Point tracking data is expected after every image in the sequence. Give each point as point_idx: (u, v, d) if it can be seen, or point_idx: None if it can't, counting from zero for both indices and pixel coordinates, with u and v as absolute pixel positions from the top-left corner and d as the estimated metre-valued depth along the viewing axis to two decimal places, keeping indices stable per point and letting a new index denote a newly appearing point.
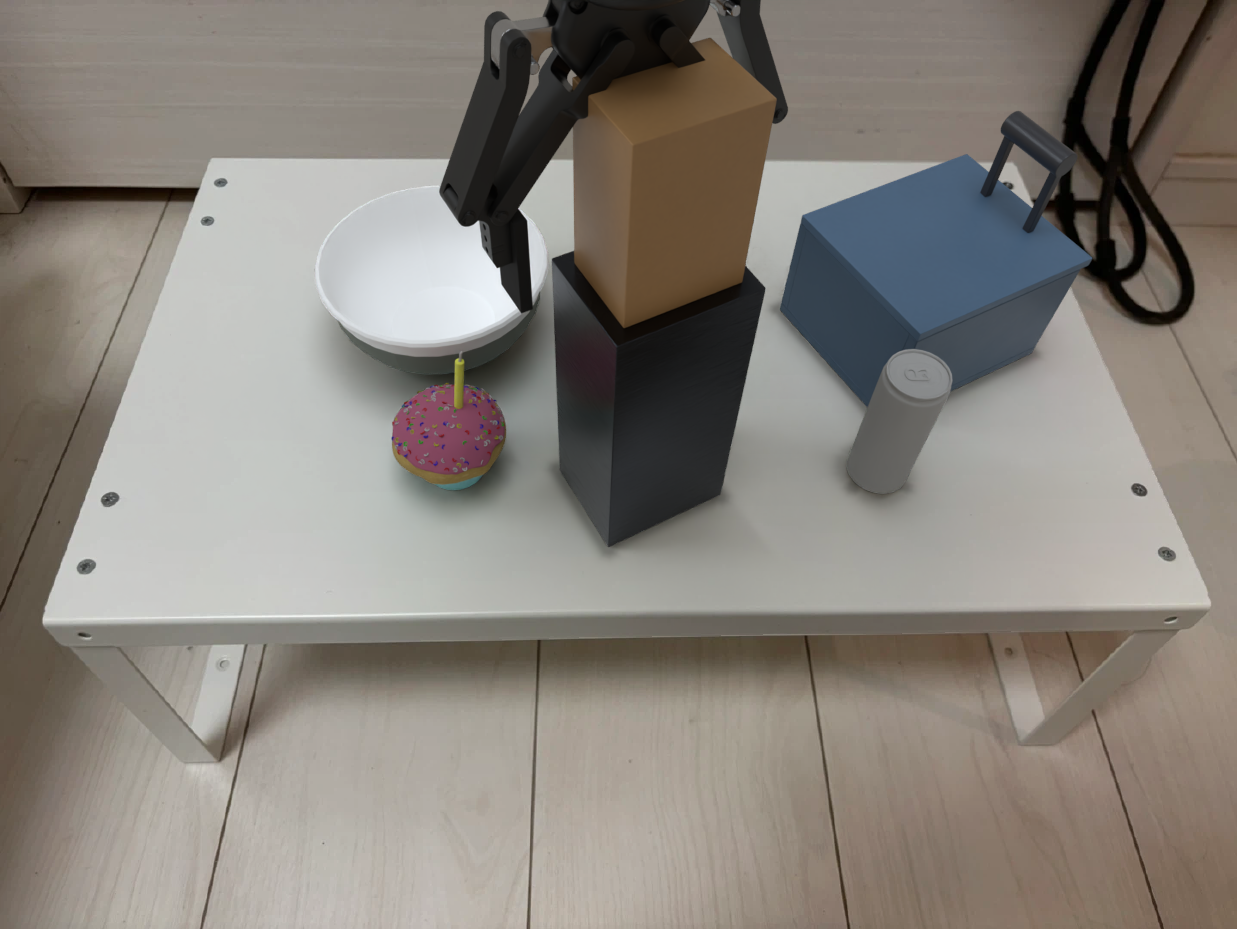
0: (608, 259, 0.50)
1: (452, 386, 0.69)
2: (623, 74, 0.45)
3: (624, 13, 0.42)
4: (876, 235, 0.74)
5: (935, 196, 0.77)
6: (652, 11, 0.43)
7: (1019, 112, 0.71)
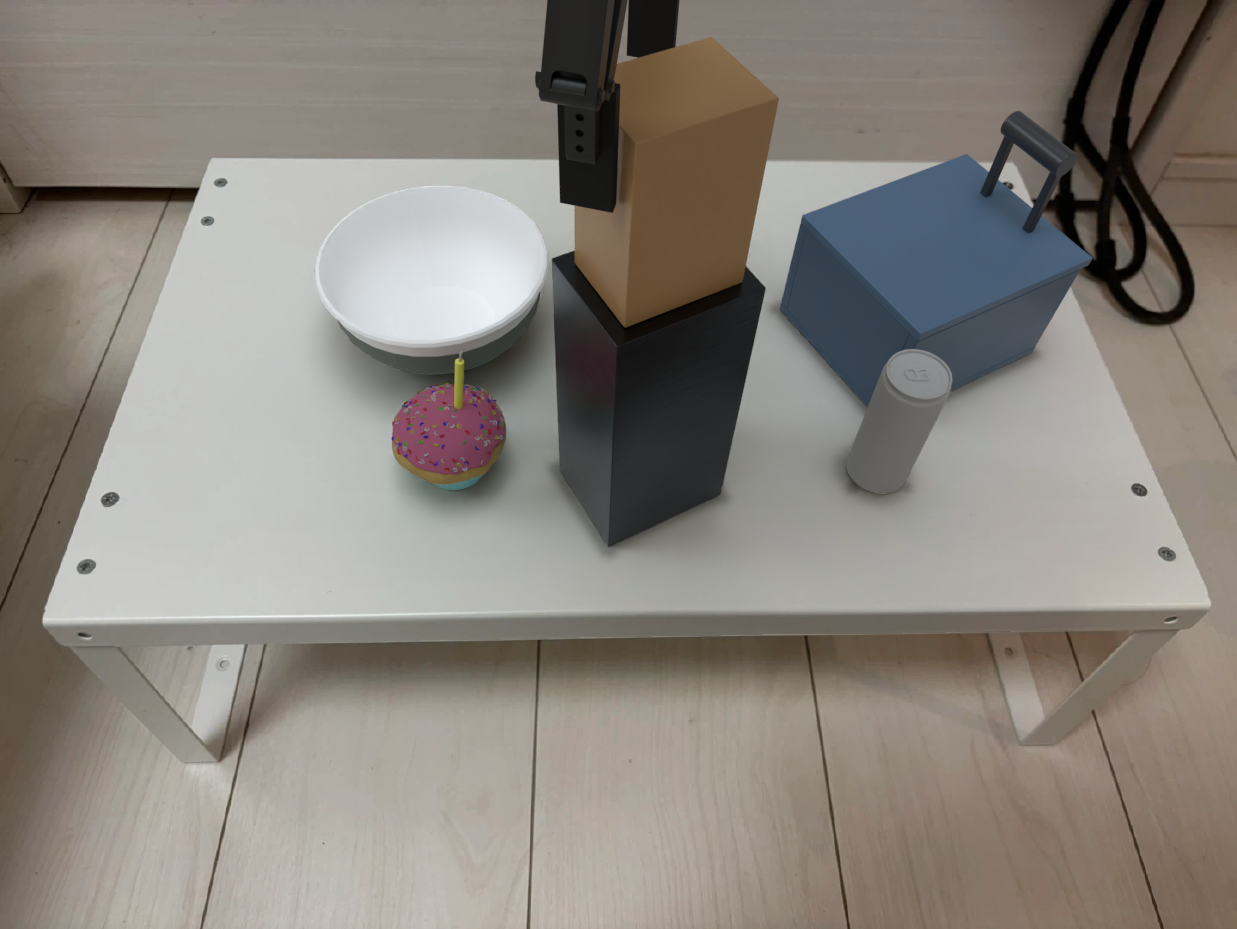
0: (610, 258, 0.50)
1: (452, 386, 0.69)
2: None
3: None
4: (876, 235, 0.74)
5: (935, 196, 0.77)
6: None
7: (1019, 112, 0.71)
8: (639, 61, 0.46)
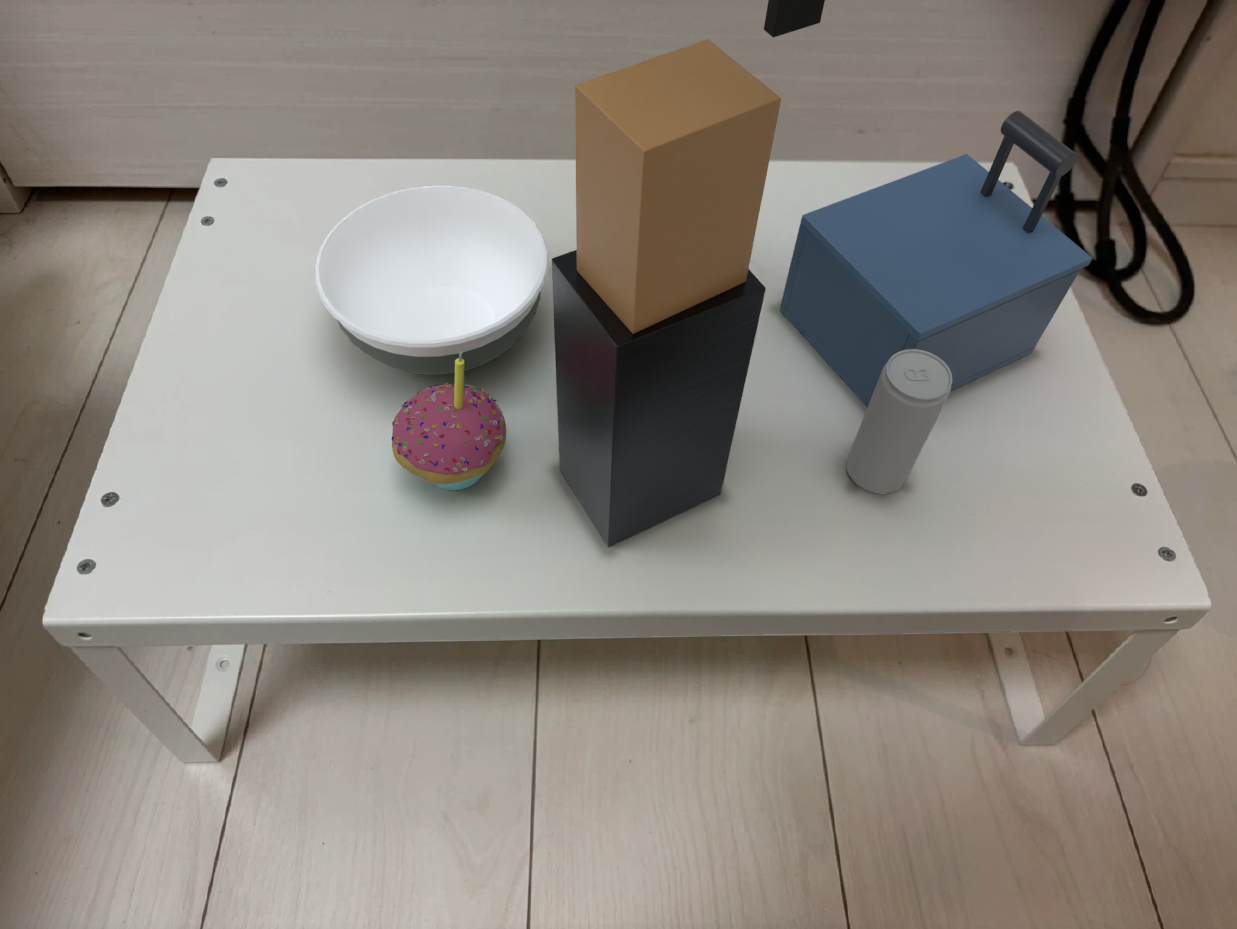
0: (616, 266, 0.49)
1: (452, 386, 0.69)
2: None
3: None
4: (876, 235, 0.74)
5: (935, 196, 0.77)
6: None
7: (1019, 112, 0.71)
8: (639, 67, 0.46)
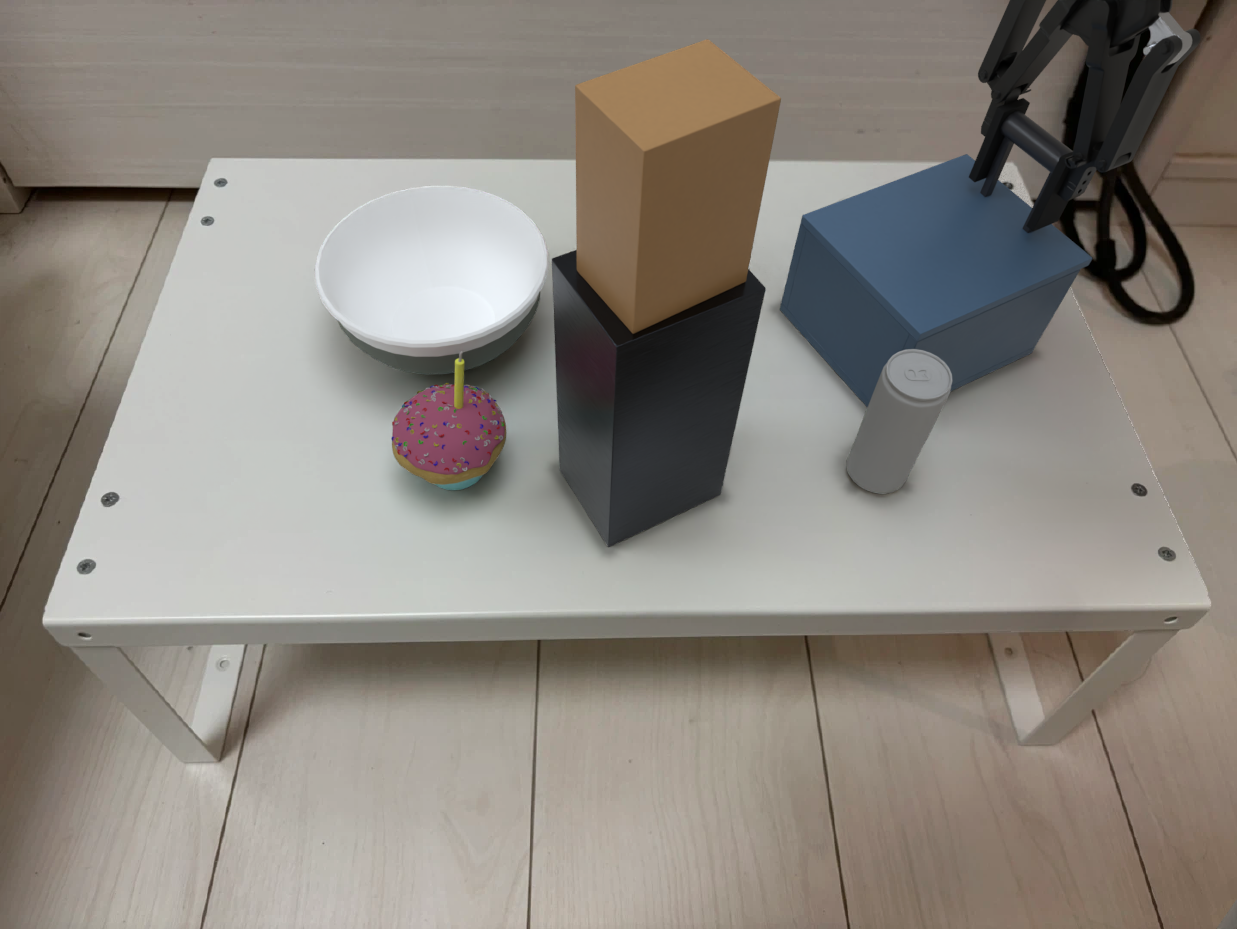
0: (616, 266, 0.49)
1: (452, 386, 0.69)
2: None
3: None
4: (876, 235, 0.74)
5: (935, 196, 0.77)
6: None
7: (1019, 112, 0.71)
8: (639, 67, 0.46)
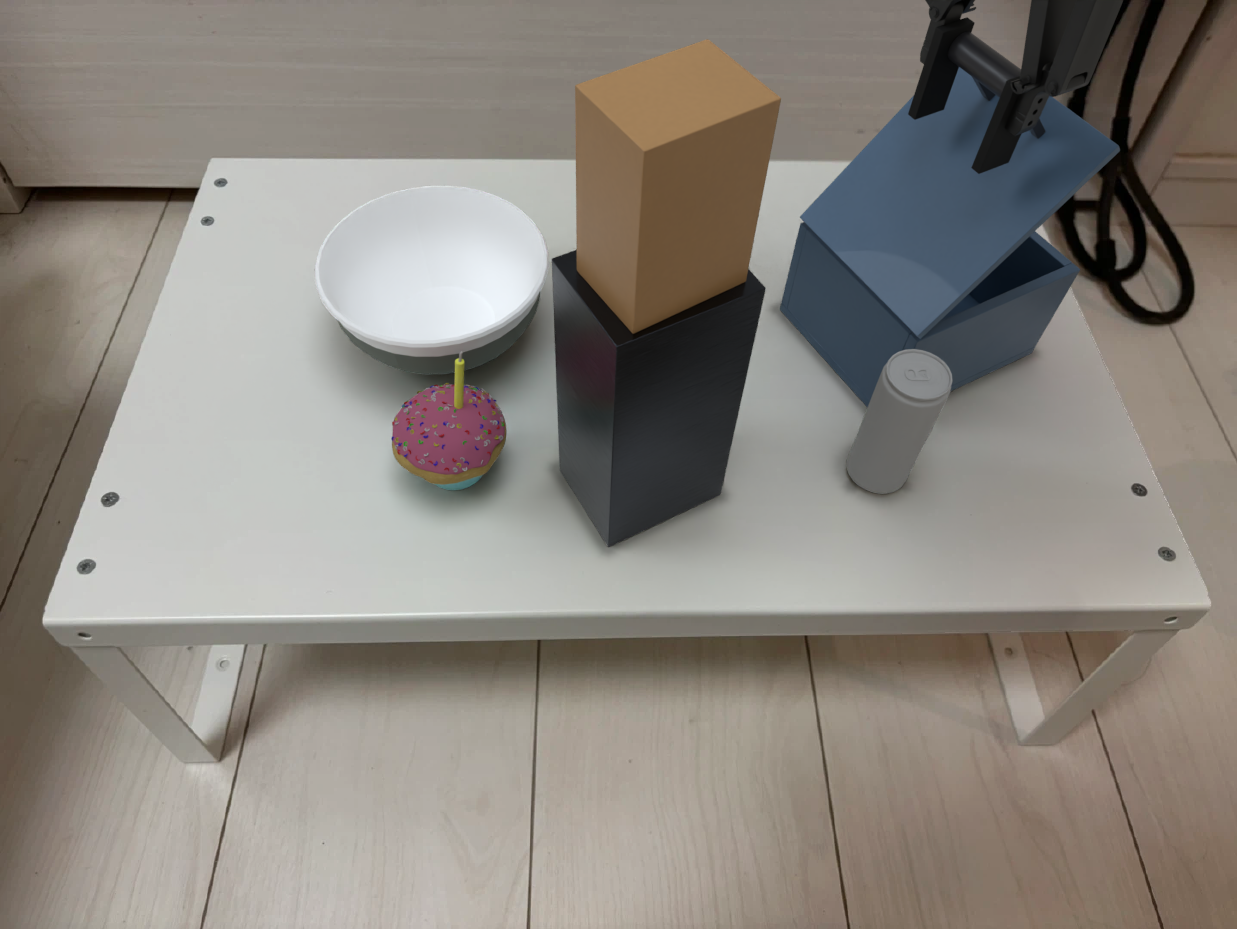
0: (616, 266, 0.49)
1: (452, 386, 0.69)
2: None
3: None
4: (871, 215, 0.71)
5: (932, 126, 0.70)
6: None
7: (960, 38, 0.61)
8: (639, 67, 0.46)
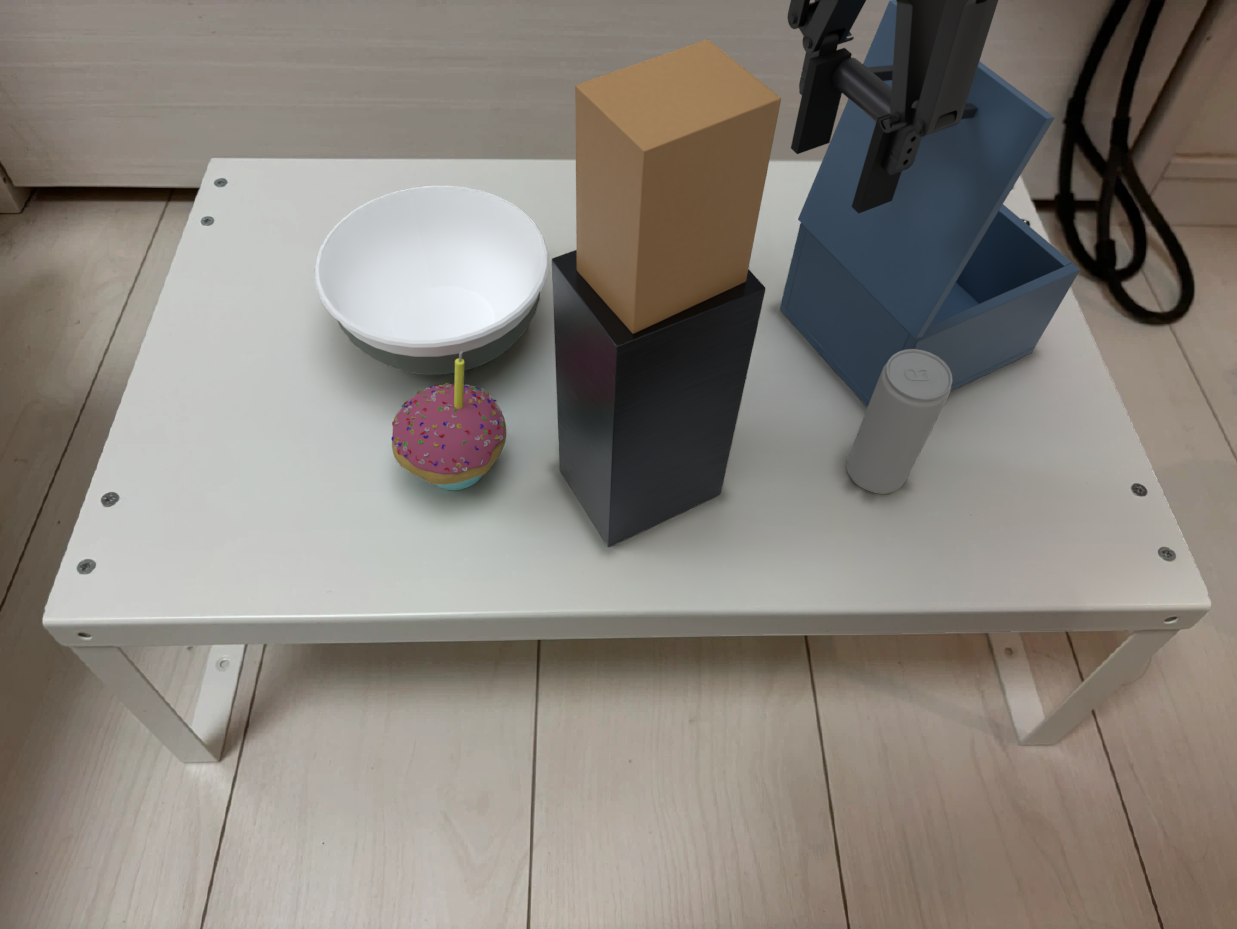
0: (616, 266, 0.49)
1: (452, 386, 0.69)
2: None
3: None
4: (852, 214, 0.70)
5: None
6: None
7: (837, 72, 0.58)
8: (639, 67, 0.46)
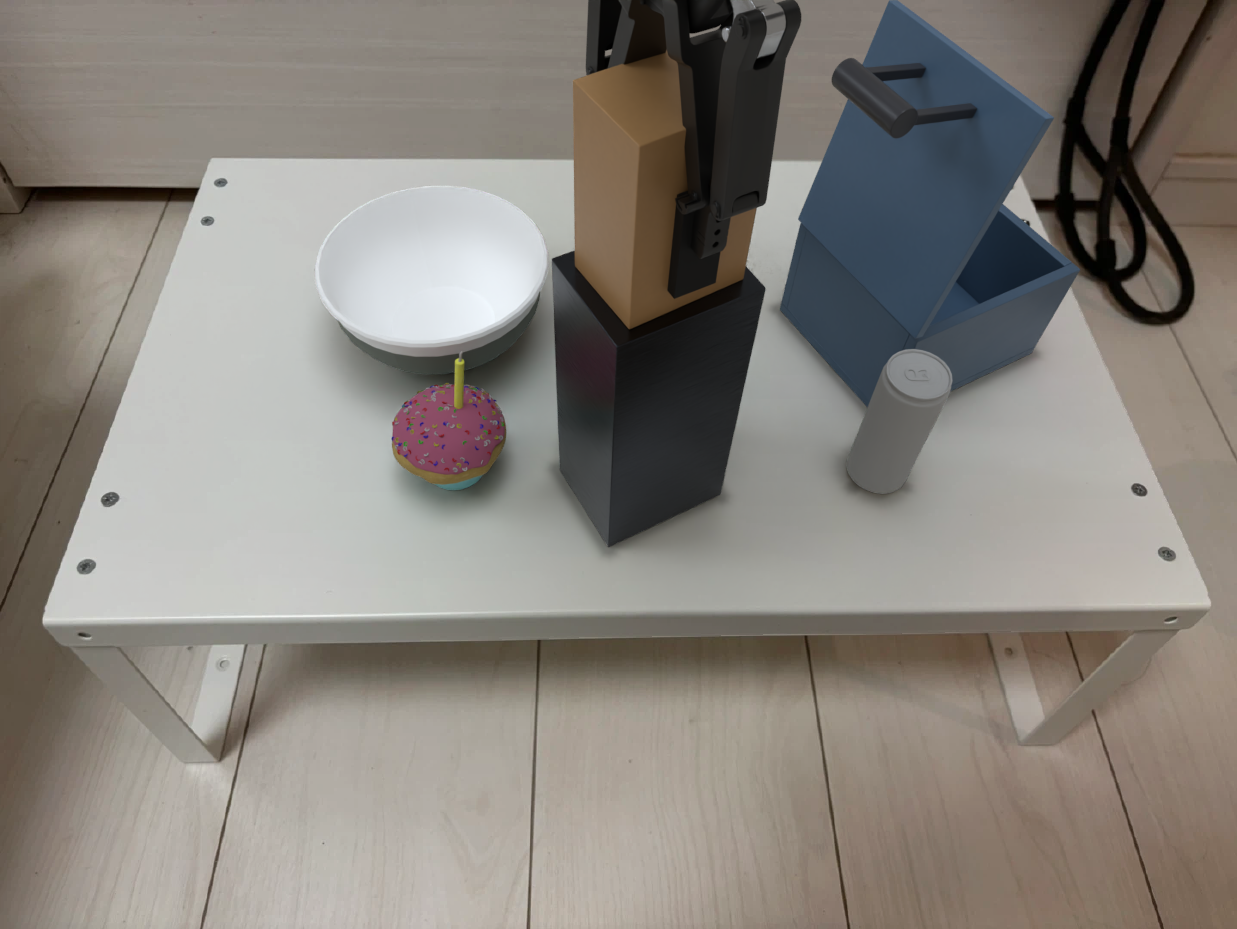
0: (612, 261, 0.50)
1: (452, 386, 0.69)
2: None
3: None
4: (851, 214, 0.70)
5: None
6: None
7: (836, 73, 0.58)
8: (636, 63, 0.46)
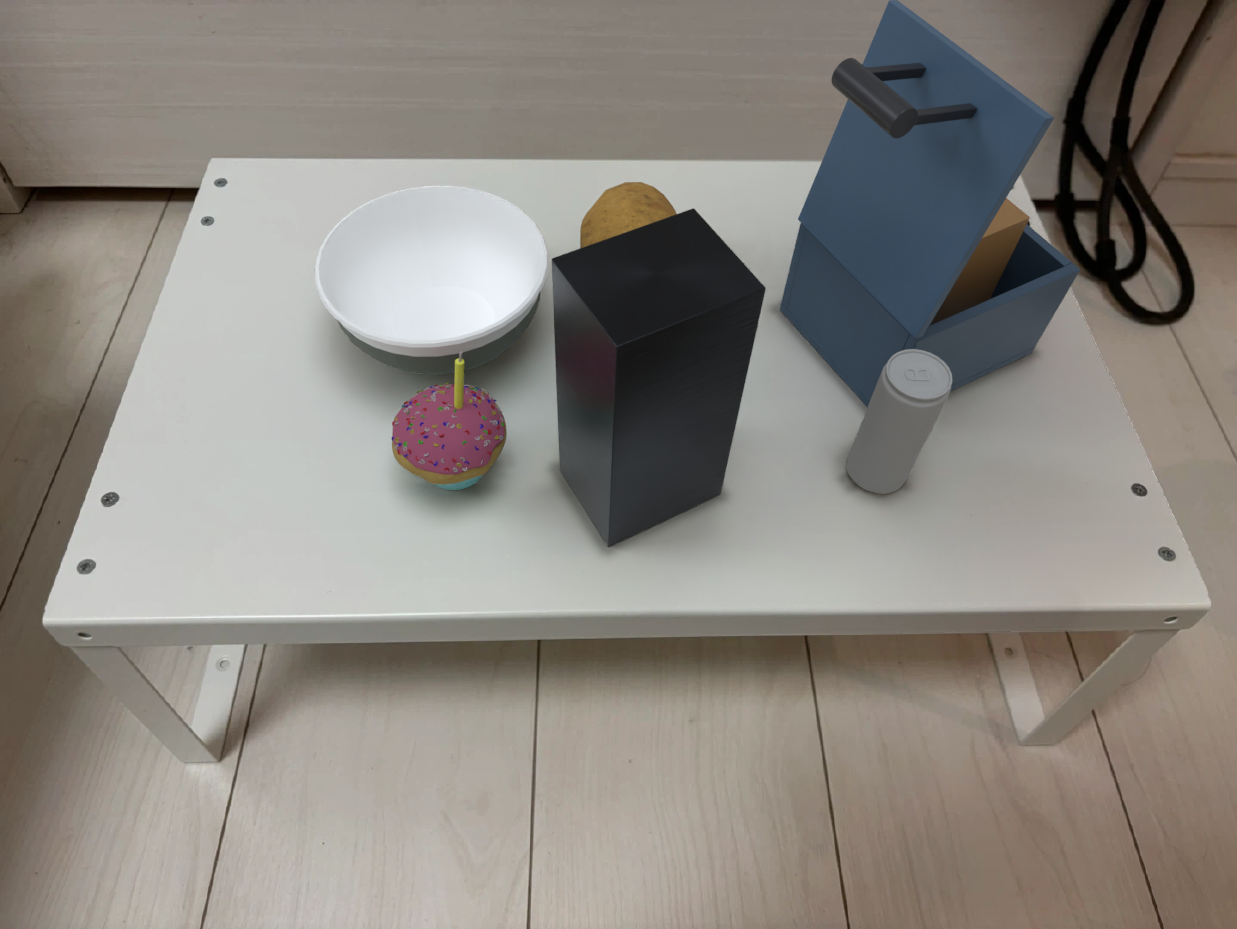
0: None
1: (452, 386, 0.69)
2: None
3: None
4: (851, 214, 0.70)
5: None
6: None
7: (836, 73, 0.58)
8: None
